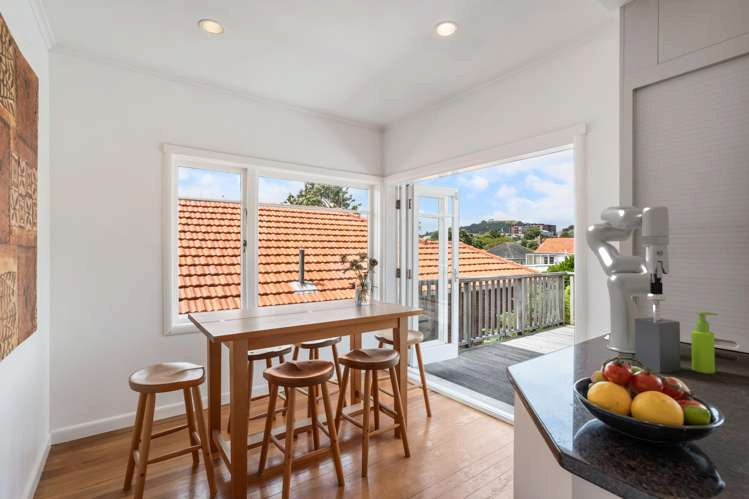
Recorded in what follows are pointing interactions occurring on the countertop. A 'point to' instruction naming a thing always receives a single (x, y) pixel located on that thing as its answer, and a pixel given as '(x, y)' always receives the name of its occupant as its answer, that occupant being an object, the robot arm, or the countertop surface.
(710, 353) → the soap dispenser
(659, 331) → the block
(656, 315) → the plunger
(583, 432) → the countertop surface
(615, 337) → the robot arm
